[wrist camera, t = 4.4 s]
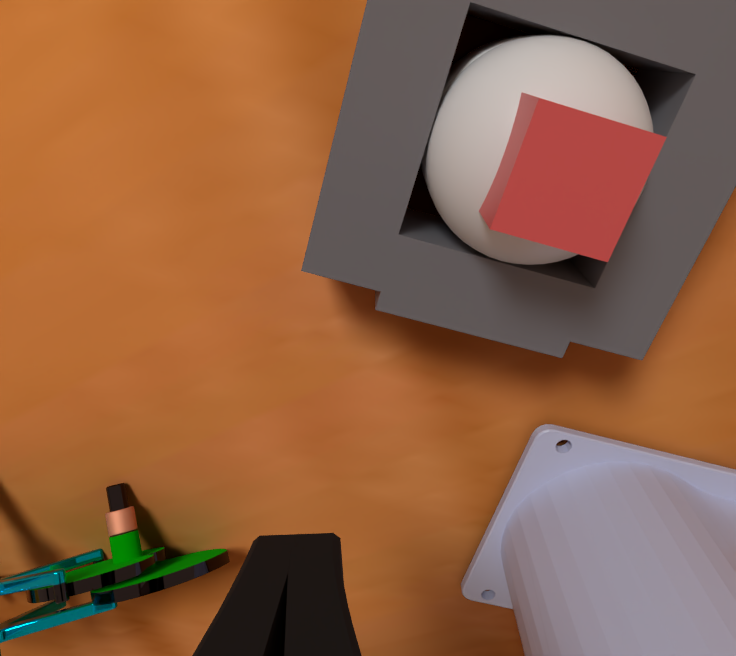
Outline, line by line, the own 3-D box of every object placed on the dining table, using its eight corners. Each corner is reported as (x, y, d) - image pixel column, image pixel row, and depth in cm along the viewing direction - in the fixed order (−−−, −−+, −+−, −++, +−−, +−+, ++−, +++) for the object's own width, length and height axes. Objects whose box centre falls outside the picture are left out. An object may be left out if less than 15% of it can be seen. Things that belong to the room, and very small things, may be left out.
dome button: (639, 68, 15) (773, 81, 10) (560, 250, 17) (639, 337, 12) (453, 9, 15) (494, -9, 10) (394, 203, 17) (403, 274, 12)
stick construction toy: (-86, 666, 22) (-266, 771, 15) (-106, 477, 23) (-282, 484, 16) (240, 572, 25) (229, 621, 17) (207, 405, 26) (183, 382, 18)
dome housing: (751, 7, 15) (836, -2, 12) (595, 327, 18) (633, 377, 16) (398, -113, 14) (403, -150, 11) (308, 251, 18) (297, 289, 15)
